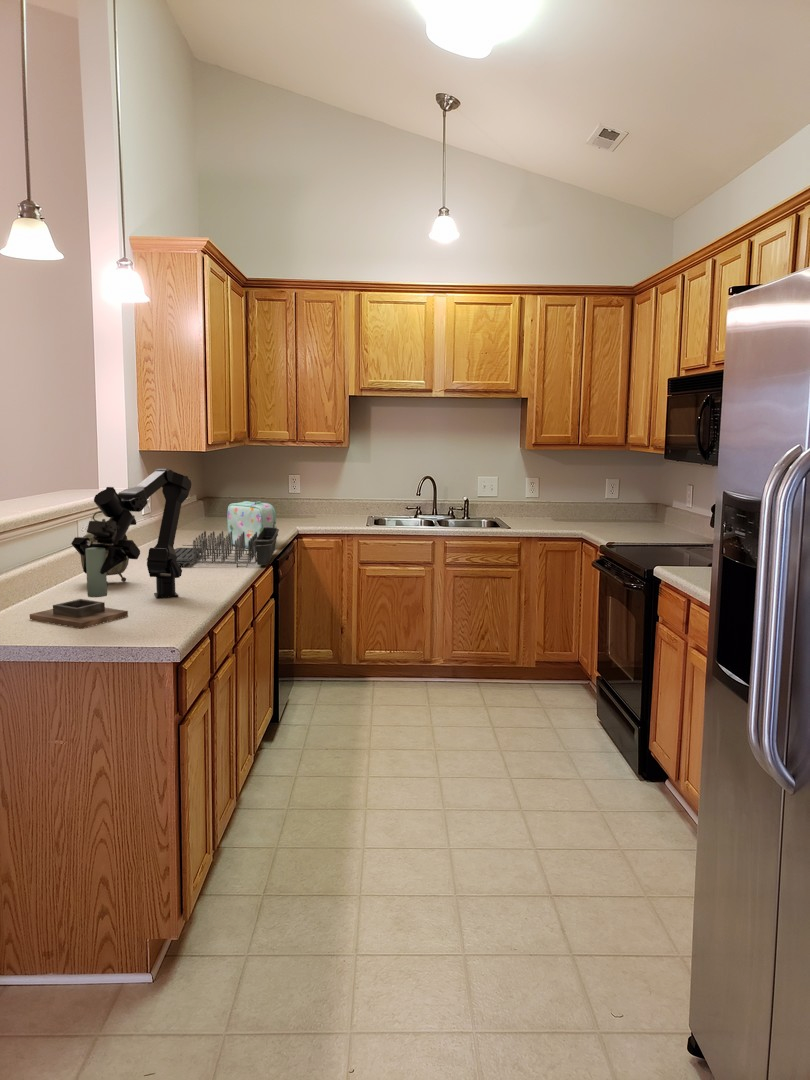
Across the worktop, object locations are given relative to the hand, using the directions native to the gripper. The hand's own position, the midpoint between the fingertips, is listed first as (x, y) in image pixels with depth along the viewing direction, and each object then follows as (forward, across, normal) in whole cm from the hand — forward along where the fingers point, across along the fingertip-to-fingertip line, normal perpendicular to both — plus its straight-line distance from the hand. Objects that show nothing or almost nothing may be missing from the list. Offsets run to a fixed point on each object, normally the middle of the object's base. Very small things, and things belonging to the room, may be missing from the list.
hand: (93, 572), depth 209 cm
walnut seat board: (+8, -6, +11) cm, 15 cm away
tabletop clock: (-22, -29, +41) cm, 55 cm away
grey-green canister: (+4, 0, +6) cm, 7 cm away
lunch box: (-87, -21, +108) cm, 140 cm away
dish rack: (-60, -16, +81) cm, 102 cm away
